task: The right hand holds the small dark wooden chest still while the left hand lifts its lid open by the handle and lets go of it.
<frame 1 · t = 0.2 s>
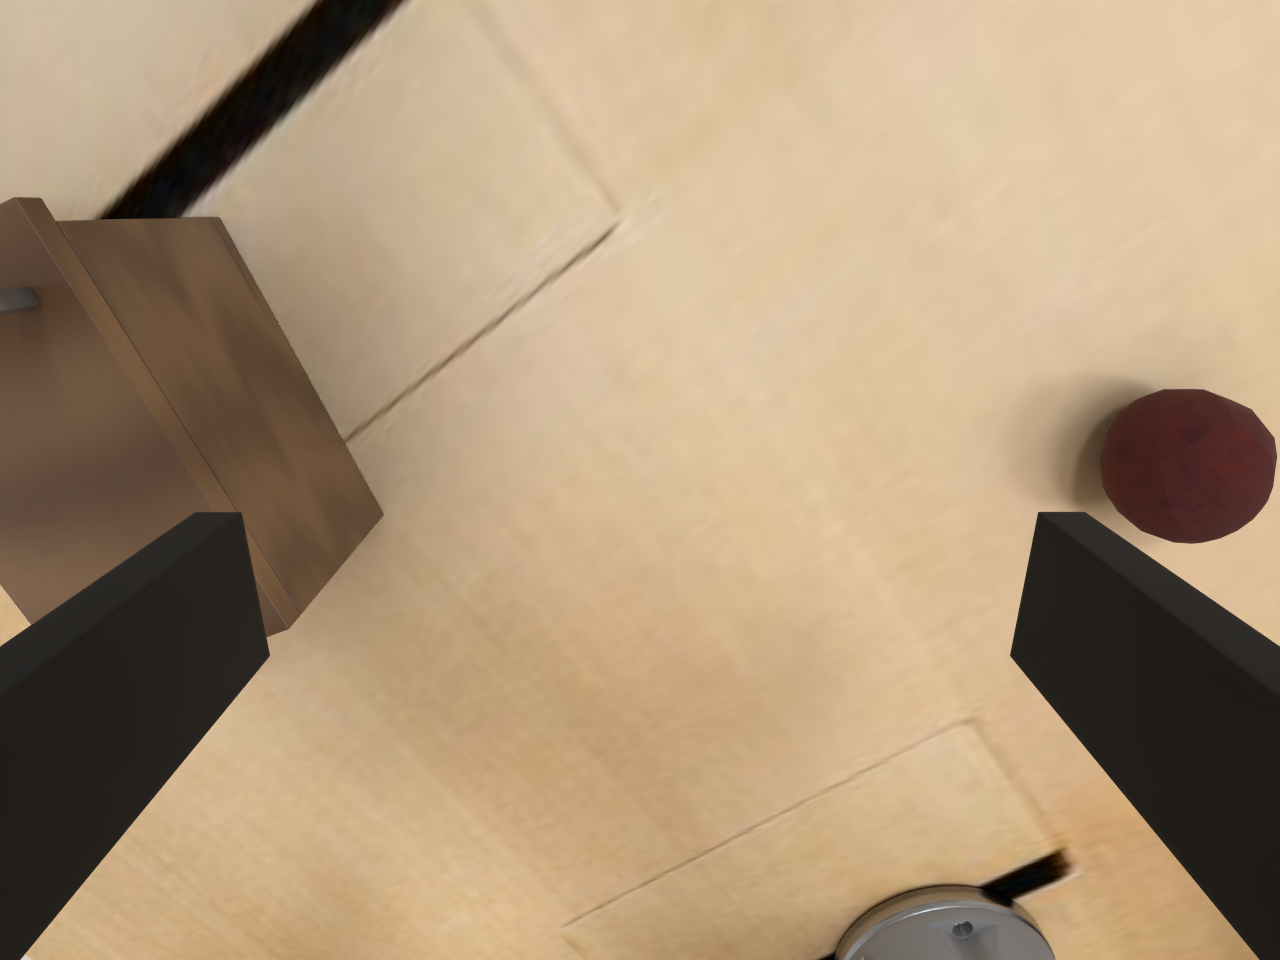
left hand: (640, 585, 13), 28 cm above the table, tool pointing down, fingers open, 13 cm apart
dark maroon ball: (1138, 441, 41), on the table
chest: (228, 408, 40), on the table
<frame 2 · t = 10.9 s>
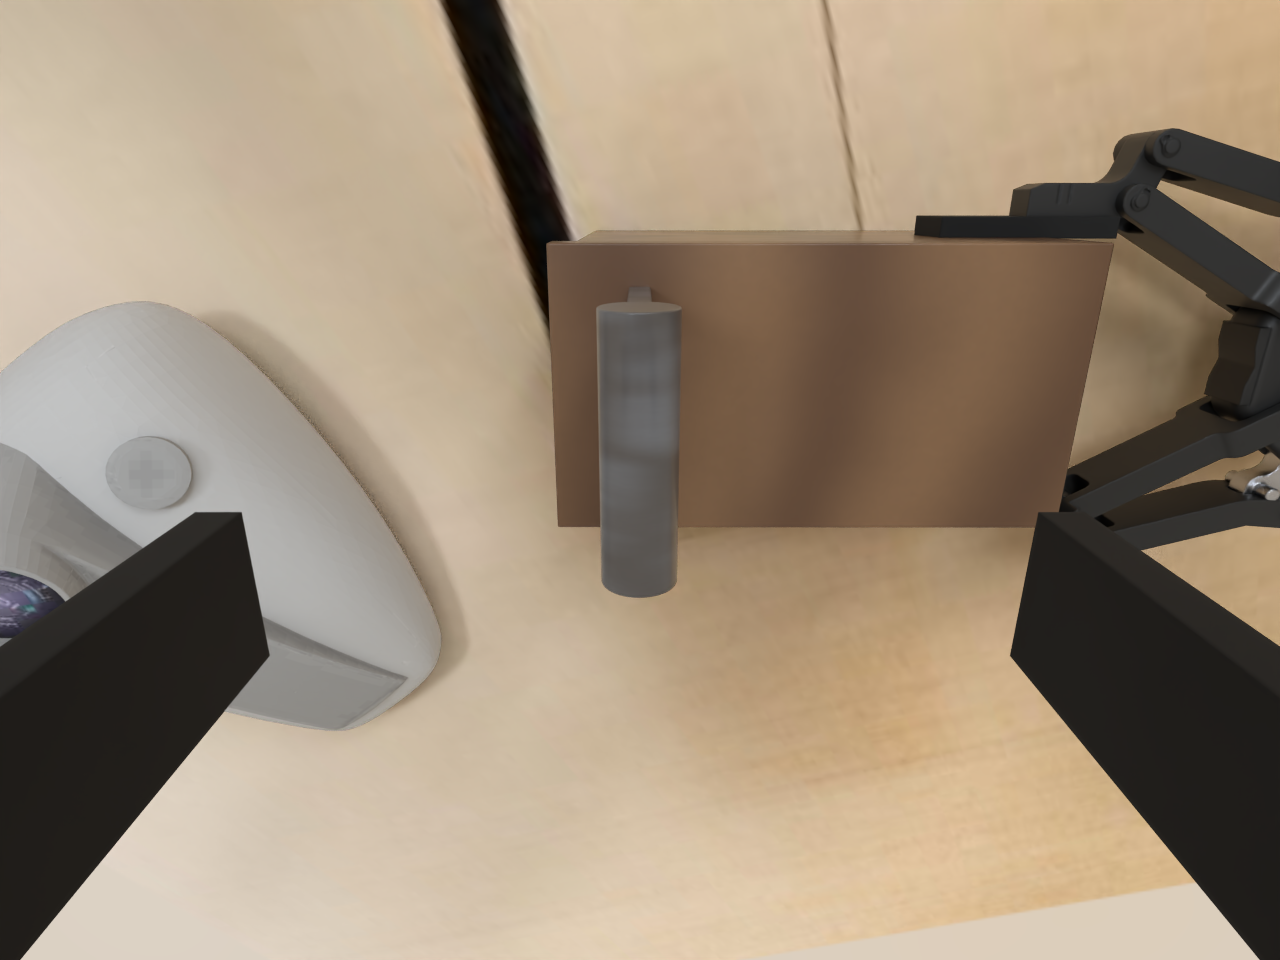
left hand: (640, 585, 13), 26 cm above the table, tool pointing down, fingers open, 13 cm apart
chest: (771, 335, 37), on the table, touching right hand
projector: (263, 525, 40), on the table
lid: (840, 419, 22), point 15 cm above the table, hinge at 0.0°
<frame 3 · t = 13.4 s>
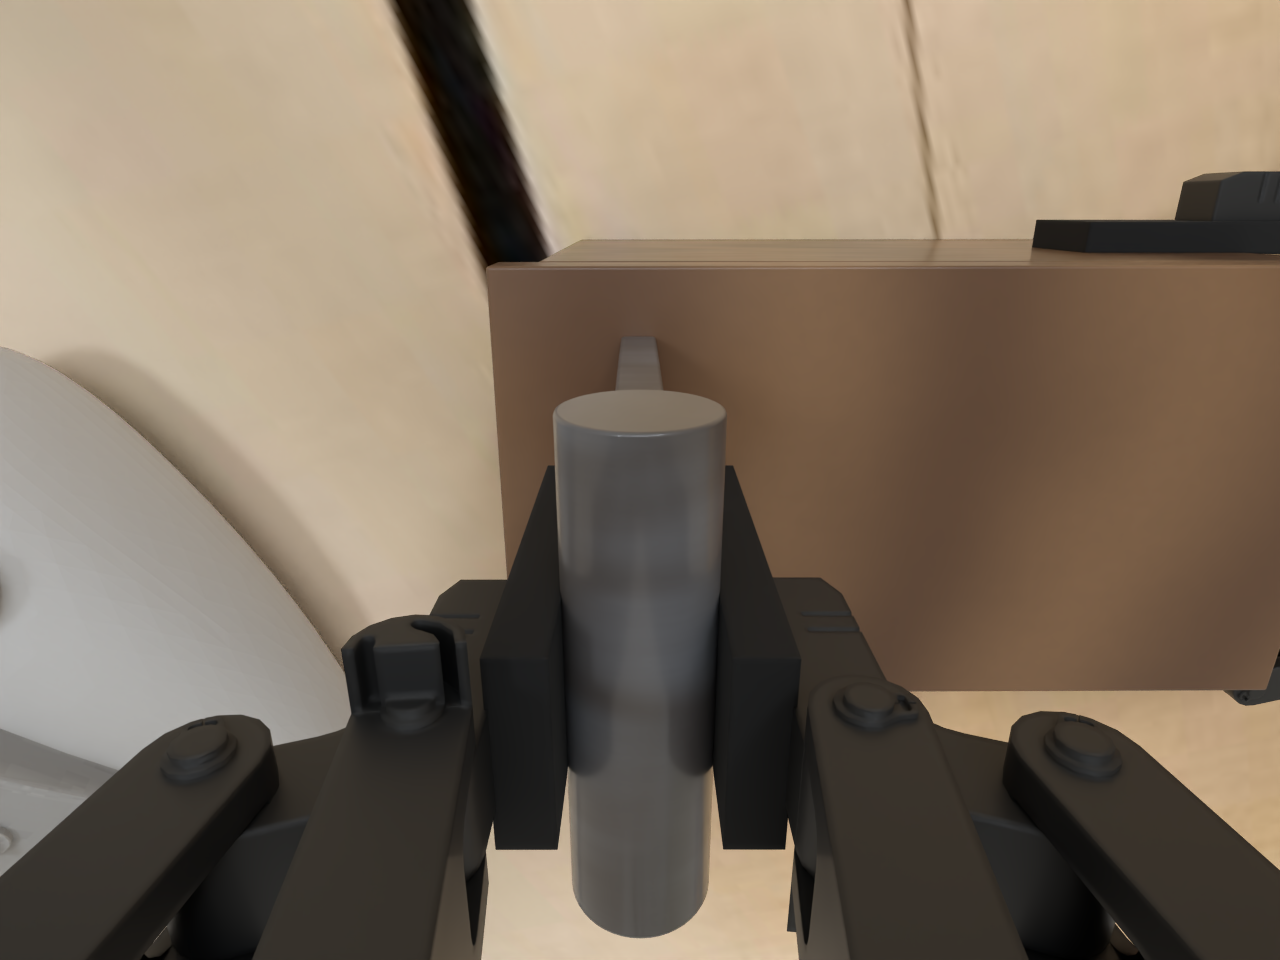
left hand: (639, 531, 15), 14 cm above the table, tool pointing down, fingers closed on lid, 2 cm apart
chest: (814, 378, 28), on the table, touching right hand
projector: (157, 619, 31), on the table
lid: (978, 564, 13), point 15 cm above the table, hinge at 0.6°, touching left hand
when the right hand's fingers open (7 cm above the table, at t = 20.9 s): chest stays where it is, on the table.
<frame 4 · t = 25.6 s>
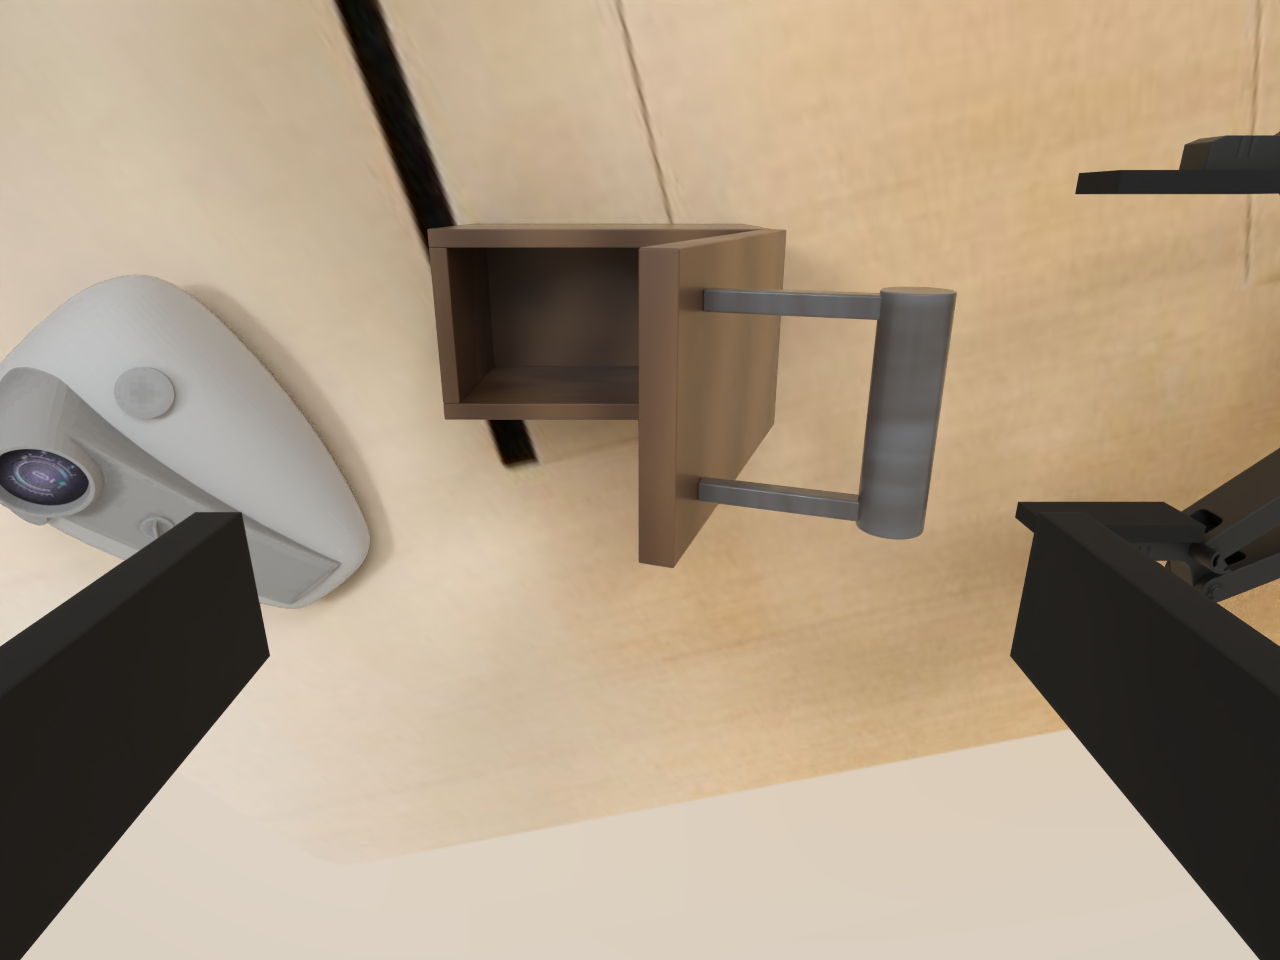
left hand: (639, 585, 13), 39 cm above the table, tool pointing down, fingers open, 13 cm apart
chest: (609, 302, 49), on the table
projector: (233, 450, 53), on the table
lid: (819, 369, 29), point 21 cm above the table, hinge at 70.4°
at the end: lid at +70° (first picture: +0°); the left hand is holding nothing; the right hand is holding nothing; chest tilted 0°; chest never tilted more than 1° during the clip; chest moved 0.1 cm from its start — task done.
